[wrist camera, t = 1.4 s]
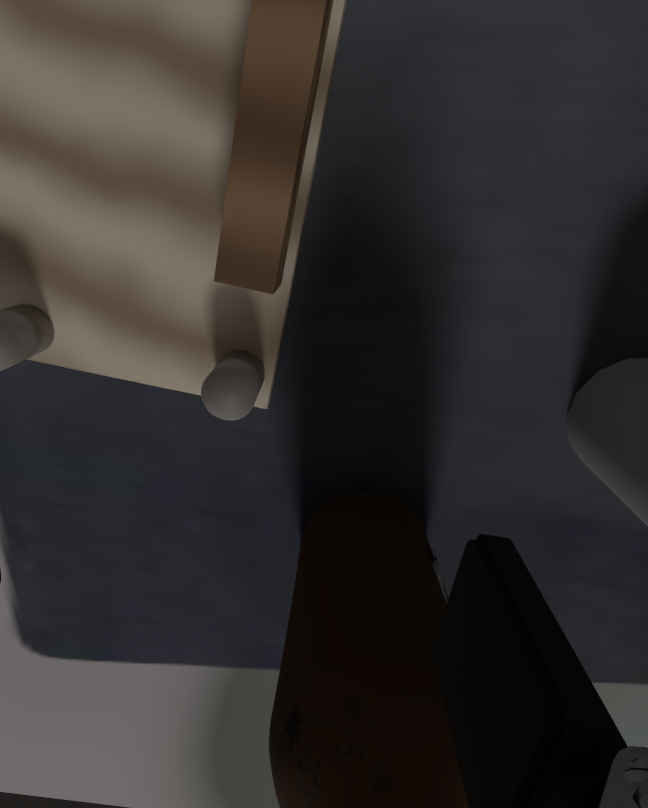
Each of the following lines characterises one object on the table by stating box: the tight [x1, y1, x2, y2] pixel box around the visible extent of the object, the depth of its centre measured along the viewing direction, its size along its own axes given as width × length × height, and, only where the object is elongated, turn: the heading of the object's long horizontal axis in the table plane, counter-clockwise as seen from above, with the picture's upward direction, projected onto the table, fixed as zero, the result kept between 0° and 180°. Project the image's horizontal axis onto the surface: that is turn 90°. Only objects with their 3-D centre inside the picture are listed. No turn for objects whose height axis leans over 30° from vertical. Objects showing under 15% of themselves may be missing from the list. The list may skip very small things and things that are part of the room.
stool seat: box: [0, 0, 347, 420], centre depth 26 cm, size 24×17×6 cm
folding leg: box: [214, 0, 333, 295], centre depth 24 cm, size 15×3×4 cm, turn 168°
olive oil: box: [269, 491, 469, 808], centre depth 26 cm, size 11×11×25 cm
